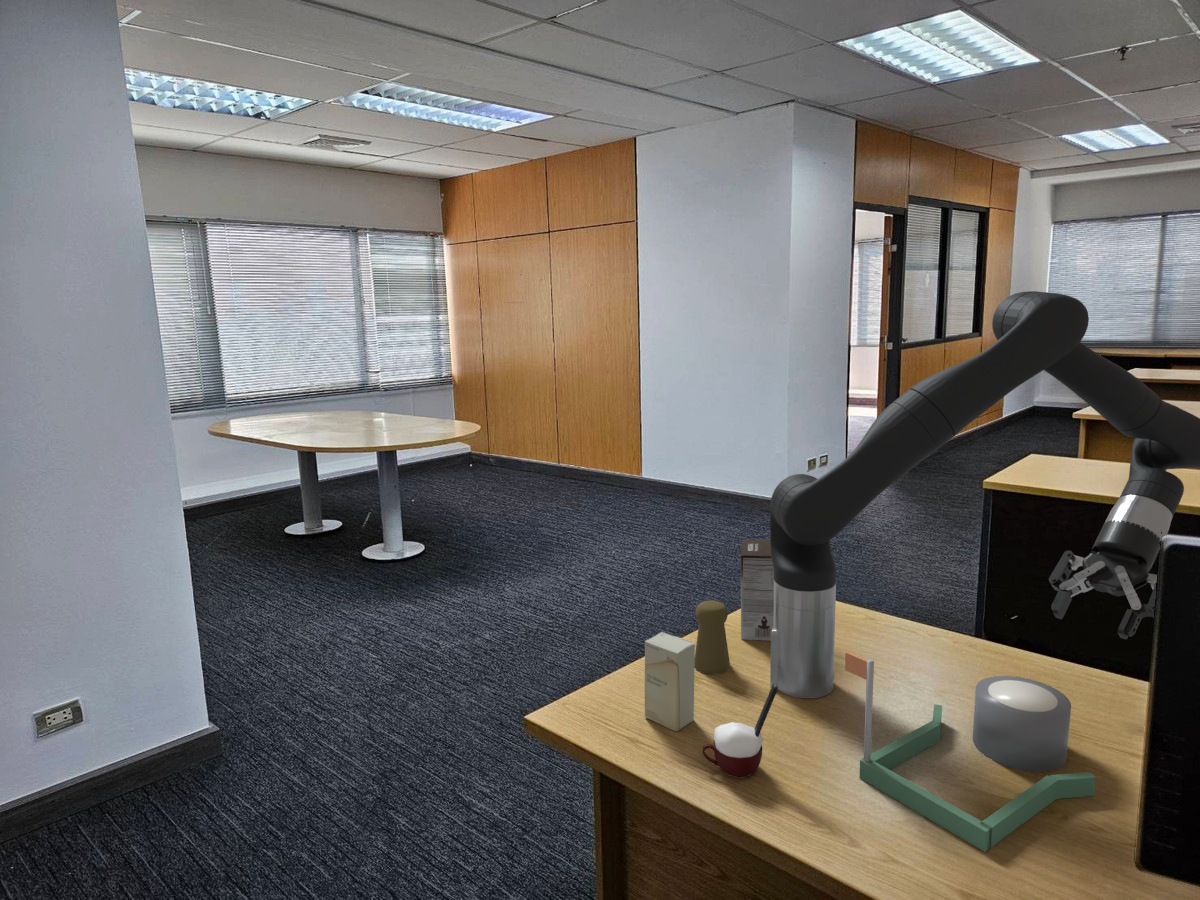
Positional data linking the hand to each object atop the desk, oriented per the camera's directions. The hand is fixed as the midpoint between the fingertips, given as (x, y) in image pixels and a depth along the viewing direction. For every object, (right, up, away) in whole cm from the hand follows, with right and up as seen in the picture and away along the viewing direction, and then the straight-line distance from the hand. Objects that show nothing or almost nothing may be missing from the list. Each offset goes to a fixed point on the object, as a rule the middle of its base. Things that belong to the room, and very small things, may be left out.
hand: (1088, 625), depth 109 cm
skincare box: (-59, -15, +3) cm, 61 cm away
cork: (-51, -11, +19) cm, 55 cm away
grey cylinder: (-14, -15, -7) cm, 21 cm away
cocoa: (-52, -17, -10) cm, 55 cm away
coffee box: (-41, -8, +31) cm, 52 cm away
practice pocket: (-24, -16, -13) cm, 32 cm away
